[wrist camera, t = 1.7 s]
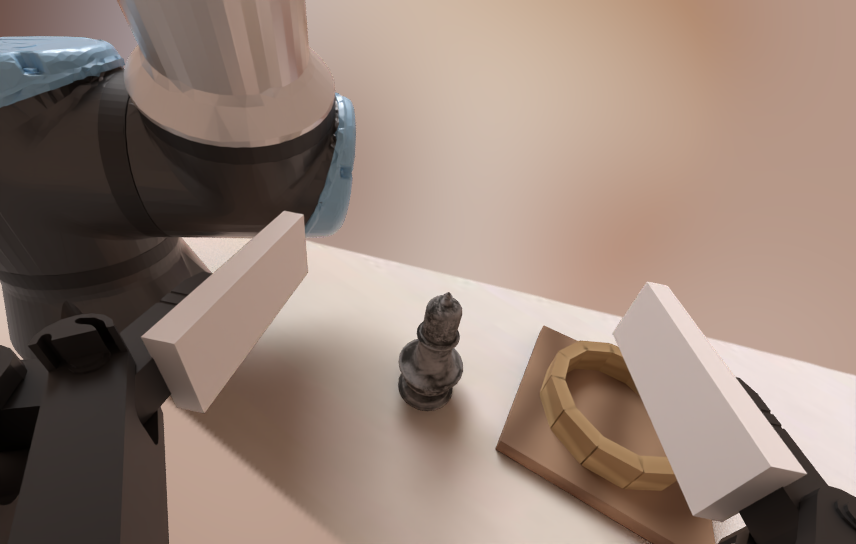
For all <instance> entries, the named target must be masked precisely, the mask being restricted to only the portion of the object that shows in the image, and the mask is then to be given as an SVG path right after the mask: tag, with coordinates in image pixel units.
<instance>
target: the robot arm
mask: <svg viewBox="0 0 856 544" xmlns="http://www.w3.org/2000/svg"><path fill="white" fill-rule="evenodd" d="M117 2H118V4H119V6H120V8H121V10H122V12H123V14H124V16H125V18H126V20H127V22H128V24H129V26H130V28H131V31H132V33H133V35H134V37H135V39H136V41H137V43H138V45H137V46H136V48H135V49H134V50H133V52H132V53H131V54H130V56H129V58H128V60H127V62H126V65H125V63H124V59H123V58H122V57H121V56H120V55H119V54H118V52H117V51H116V49H115V48H114V47H113V45H111V44H110V43H108V42H106V41H103V40H94V39H89V38H84V37H57V36H53V37H52V36H48V37H47V36H45V37H44V36H35V37H33V36H29V37H0V282H1V284H2V290H3V297H4V302H5V309H6V316H7V322H8V329H9V335H10V340H11V342H12V345H13V347H14V348H15V350H16V351H17V352H18V354H19V355H20V356H21V357H22V358H23V359H24V360H20V359H19V358H18V357H17V356H16V354H15V353H14V352H13V351H12V350H11V349H10V348H7V347H5V346H2V345H0V544H169V533H168V511H167V490H166V469H165V446H164V426H163V425H164V423H163V412H162V410H161V407H160V406H161V405H162V404H163V403H164V402H165V400H166V399H167V398H168V397H169V396H170V395H171V397H172V399H173V401H174V403H175V405H176V407H177V408H181V409H186V410H191V411H195V412H200V413H205V412H206V411H207V409H208V408H209V406H210V405H211V404H212V402H213V401H214V400H215V398H216V397H217V396H218V394H219V393H220V391H221V390H222V389H223V387H224V386H225V385H226V383H227V382H228V381H229V379H230V378H231V377H232V375H233V374H234V372H235V371H236V370H237V368H238V367H239V366H240V364H241V363H242V362H243V360H244V359H245V358H246V356H247V355H248V353H249V352H250V351H251V349H252V348H253V347H254V345H255V344H256V343H257V341H258V340H259V338H260V337H261V336H262V334H263V333H264V332H265V330H266V329H267V328H268V326H269V325H270V324H271V322H272V321H273V319H274V318H275V317H276V315H277V314H278V313H279V311H280V310H281V309H282V307H283V306H284V305H285V303H286V302H287V300H288V299H289V298H290V296H291V295H292V294H293V292H294V291H295V290H296V288H297V287H298V285H299V284H300V283H301V281H302V280H303V279H304V277H305V276H306V275H307V273H308V265H307V252H306V239H305V238H317V237H328V236H331V235H333V234H334V233H336V232H337V231H338V230H339V229H340V228H341V226H342V225H343V222H344V220H345V217H346V214H347V210H348V205H349V200H350V194H351V187H352V173H351V172H352V170H353V164H354V158H355V141H356V125H355V114H354V107H353V105H352V102H351V101H350V100H349V99H348V98H346V97H344V96H341V95H339V94H338V93H336V92H335V83H334V80H333V76H332V74H331V72H330V69H329V67H328V66H327V65H326V63H325V62H324V61H323V59H322V58H321V57H320V56H319V55H318V54H317V53H316V52H315V51H313V50H312V49H311V48H310V47H309V45H308V31H307V18H306V5H305V0H117ZM124 65H125V69H124V68H123V66H124ZM181 237H212V238H253V239H251V240H250V241H249V242H248V243H247V244H246V245H245V246H243V247H242V248H241V249H240V250H239V251H238V252H237V253H236V254H234V255H233V256H232V257H231V258H230V259H229V260H228V261H226V262H225V263H224V264H223V265H222V266H221V267H220V268H219V269H217V270H216V271H215V272H214V273H211V271H210V270H209V269H208V268H207V267H206V266H205V264H204V263H203V262H202V261H201V260H200V259H199V257H198V256H197V255H196V254H195V253H194V252H193V251H192V249H191V248H190V247H189V246H188V245H187V244H186V242H185V241H184V240H183V239H182V238H181ZM613 335H614V338H615V340H616V342H617V344H618V347H619V349H620V351H621V354H622V356H623V358H624V360H625V363H626V365H627V367H628V369H629V372H630V374H631V376H632V379H633V381H634V383H635V385H636V388H637V390H638V392H639V394H640V397H641V399H642V401H643V404H644V406H645V408H646V410H647V413H648V415H649V417H650V419H651V422H652V424H653V426H654V429H655V431H656V433H657V435H658V438H659V440H660V442H661V444H662V447H663V449H664V451H665V454H666V456H667V458H668V460H669V463H670V465H671V467H672V469H673V472H674V474H675V476H676V479H677V481H678V483H679V485H680V488H681V490H682V492H683V494H684V497H685V499H686V501H687V504H688V506H689V508H690V510H691V513H692V515H693V516H696V517H701V518H706V519H710V520H715V521H720V522H723V521H725V520H727V519H729V518H730V517H732V516H734V515H736V514H737V513H740V515H741V517H742V519H743V520H744V522H745V524H746V526H745V527H744V528H742V529H740V530H738V531H736V532H734V533H732V534H730V535H728V536H726V537H724V538H722V539H721V540H720V542H719V543H718V544H856V497H854V496H852V495H850V494H849V493H847V492H845V491H843V490H841V489H838V488H834V487H831V486H828V485H827V483H826V482H825V481H824V480H823V478H822V477H821V476H820V474H819V473H818V472H817V471H816V469H815V468H814V467H813V465H812V464H811V463H810V461H809V460H808V459H807V458H806V456H805V455H804V454H803V452H802V451H801V450H800V448H799V447H798V446H797V445H796V443H795V442H794V441H793V439H792V438H791V437H790V435H789V434H788V433H787V432H786V430H785V429H782V428H781V426H782V425H781V424H780V422H779V421H778V420H777V419H776V417H775V416H774V415H773V414H770V410H769V408H768V407H767V406H766V404H765V403H764V402H763V400H762V399H761V398H760V397H759V395H758V394H757V393H756V392H755V391H754V390H752V389H751V388H750V387H749V386H748V385H747V384H746V383H745V382H743V381H742V380H741V379H740V378H737V377H735V376H734V375H733V373H732V372H731V371H730V369H729V368H728V366H727V365H726V364H725V362H724V361H723V360H722V358H721V357H720V356H719V354H718V353H717V352H716V350H715V349H714V348H713V346H712V345H711V344H710V342H709V341H708V340H707V338H706V337H705V336H704V334H703V333H702V332H701V330H700V329H699V328H698V326H697V325H696V323H695V322H694V321H693V319H692V318H691V317H690V316H689V314H688V313H687V312H686V310H685V309H684V307H683V306H682V305H681V303H680V302H679V301H678V299H677V298H676V297H675V295H674V294H673V293H672V291H671V290H670V289H669V287H668V286H666V285H661V284H656V283H651V282H646V284H645V285H644V287H643V288H642V290H641V291H640V293H639V294H638V296H637V297H636V299H635V300H634V302H633V303H632V305H631V306H630V308H629V309H628V311H627V312H626V314H625V315H624V317H623V318H622V320H621V321H620V323H619V324H618V326H617V327H616V329H615V330H614V332H613Z"/></svg>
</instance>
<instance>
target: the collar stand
mask: <svg viewBox="0 0 856 544" xmlns="http://www.w3.org/2000/svg"><path fill="white" fill-rule="evenodd" d="M496 450H498V451H499V452H501V453H503V454H504V455H506V456H508V457H509V458H511V459H513V460H514V461H516V462H518V463H519V464H521V465H523V466H524V467H526V468H528V469H529V470H531V471H533V472H534V473H536V474H538V475H539V476H541V477H543V478H544V479H546V480H548V481H549V482H551V483H553V484H554V485H556V486H558V487H559V488H561V489H563V490H564V491H566V492H568V493H569V494H571V495H573V496H574V497H576V498H578V499H579V500H581V501H583V502H584V503H586V504H588V505H589V506H591V507H593V508H594V509H596V510H598V511H599V512H601V513H603V514H604V515H606V516H608V517H609V518H611V519H613V520H614V521H616V522H618V523H619V524H621V525H623V526H624V527H626V528H628V529H629V530H631V531H633V532H634V533H636V534H638V535H639V536H641V537H643V538H644V539H646V540H648V541H649V542H651V543H653V544H715V539H714V532H713V525H712V520H710V519H706V518H701V517H696V516H693V515H692V513H691V510H690V508H689V506H688V504H687V501H686V499H685V497H684V494H683V492H682V490H681V488H680V485H679V483H678V481H677V479H676V476H675V474H674V472H673V469H672V467H671V465H670V463H669V460H668V458H667V456H666V454H665V451H664V449H663V447H662V444H661V442H660V440H659V438H658V435H657V433H656V431H655V429H654V426H653V424H652V422H651V419H650V417H649V415H648V413H647V410H646V408H645V406H644V404H643V401H642V399H641V397H640V394H639V392H638V390H637V388H636V385H635V383H634V381H633V379H632V376H631V374H630V372H629V369H628V367H627V365H626V363H625V360H624V358H623V356H622V354H621V351H620V349H619V347H617V346H615V345H613V344H610V343H601V342H590V341H576V340H574V339H572V338H570V337H568V336H565V335H563V334H561V333H559V332H557V331H555V330H552V329H550V328H548V327H546V326H543V328H542V330H541V331H540V333H539V336H538V338H537V341H536V344H535V346H534V349H533V352H532V354H531V357H530V359H529V362H528V365H527V367H526V370H525V373H524V375H523V378H522V380H521V383H520V386H519V388H518V391H517V394H516V396H515V399H514V402H513V404H512V407H511V409H510V412H509V415H508V417H507V420H506V423H505V425H504V428H503V430H502V433H501V436H500V438H499V441H498V444H497V446H496Z"/></svg>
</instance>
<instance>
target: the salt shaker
mask: <svg viewBox="0 0 856 544" xmlns="http://www.w3.org/2000/svg"><path fill="white" fill-rule="evenodd" d="M461 317H462V307H461V305H460V304H459V302H458V301H457V300H456V299H454V298H452V295H451V294H450V293H449V292H448V293H446V294H444V295H440V296H437V297H434V298H433V299H431V300H430V301H429V303H428V305H427V307H426V312H425V317H424V321H423V322H422V323H421V324H420V325H419V327H418V329H417V337H418V339H416V340H413V341H411V342H409V343H408V344H407V345H406V346H405V347H404V348H403V349H402V351H401V353H400V357H399V367H400V371H401V375H400V377H399V382H398V387H399V392H400V394H401V396H402V398H403V399H404V400H405V401H406V403H408V404H409V405H411V406H412V407H414V408H416V409H419V410H424V411H432V410H436V409H439V408H441V407H443V406H444V405H445V404H447V402H448V401H449V399H450V398H451V394H452V387H453V386H454V385H456V384H457V383H458V381H459V380H460V378H461V376H462V372H463V363H462V360H461V357H460V355H459V354H458V352H457V351H456V350H455V349H454V347H456V345H457V344H458V342H459V339H460V335H459V332H458V327H459V323H460V320H461Z"/></svg>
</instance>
